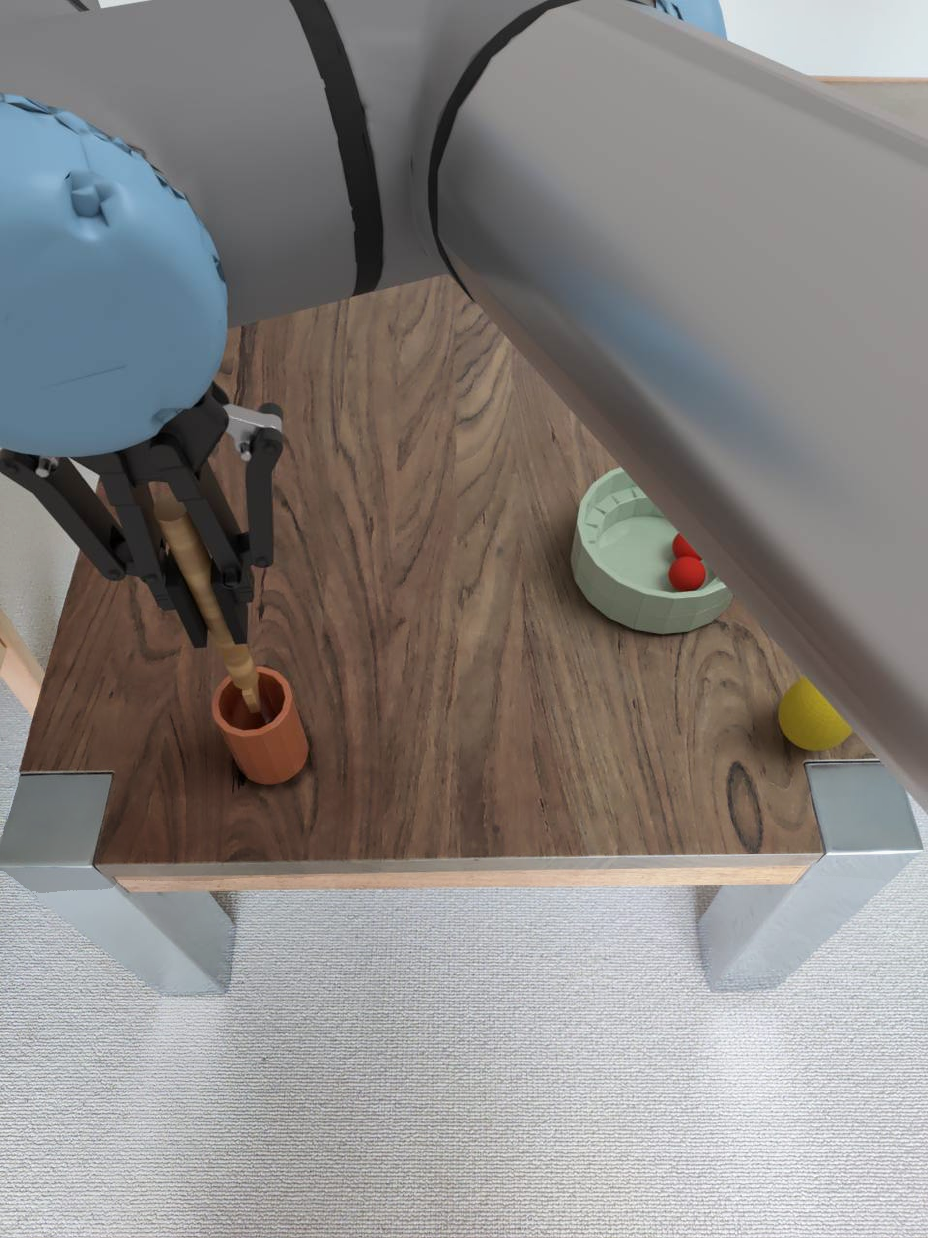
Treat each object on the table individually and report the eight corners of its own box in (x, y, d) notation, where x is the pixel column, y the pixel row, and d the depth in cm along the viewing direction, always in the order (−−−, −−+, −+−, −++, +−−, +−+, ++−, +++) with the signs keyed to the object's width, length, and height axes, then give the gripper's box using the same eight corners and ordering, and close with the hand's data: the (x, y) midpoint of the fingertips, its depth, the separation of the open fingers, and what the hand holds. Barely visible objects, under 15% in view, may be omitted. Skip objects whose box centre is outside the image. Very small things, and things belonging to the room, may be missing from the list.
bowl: (757, 628, 77) (778, 589, 72) (587, 644, 76) (596, 605, 71) (711, 498, 85) (727, 454, 80) (557, 511, 84) (563, 467, 79)
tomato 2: (680, 590, 75) (713, 591, 76) (680, 553, 75) (713, 555, 76) (661, 593, 78) (693, 594, 79) (661, 557, 78) (693, 558, 79)
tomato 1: (668, 543, 81) (693, 567, 81) (661, 549, 78) (687, 574, 78) (693, 518, 80) (718, 543, 79) (687, 523, 77) (713, 549, 76)
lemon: (831, 709, 72) (870, 659, 66) (838, 770, 69) (879, 725, 63) (764, 701, 73) (795, 651, 66) (768, 762, 70) (801, 716, 63)
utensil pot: (310, 782, 68) (292, 731, 61) (236, 790, 68) (209, 739, 60) (309, 719, 71) (292, 663, 64) (238, 726, 71) (212, 670, 64)
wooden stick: (268, 710, 63) (189, 524, 44) (243, 715, 63) (153, 530, 44) (265, 679, 64) (187, 485, 45) (240, 683, 64) (152, 490, 45)
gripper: (277, 240, 37) (338, 569, 57) (-82, 261, 36) (107, 589, 56) (276, 357, 33) (343, 668, 53) (-129, 384, 32) (93, 691, 52)
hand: (221, 627), depth 54 cm, fingers closed on wooden stick, 2 cm apart
